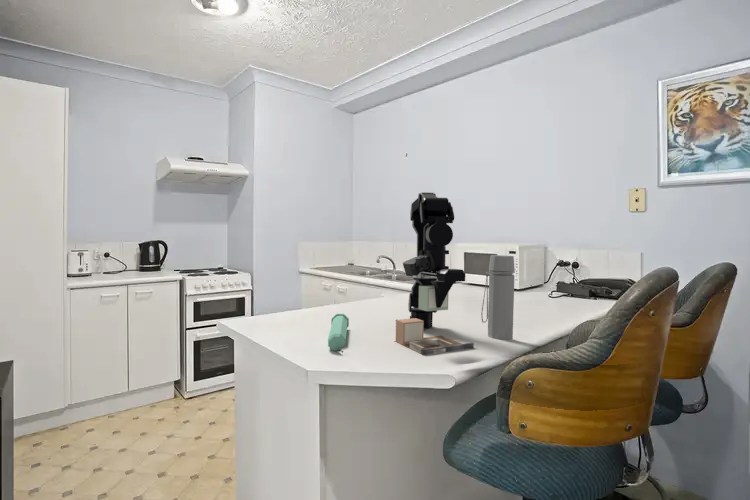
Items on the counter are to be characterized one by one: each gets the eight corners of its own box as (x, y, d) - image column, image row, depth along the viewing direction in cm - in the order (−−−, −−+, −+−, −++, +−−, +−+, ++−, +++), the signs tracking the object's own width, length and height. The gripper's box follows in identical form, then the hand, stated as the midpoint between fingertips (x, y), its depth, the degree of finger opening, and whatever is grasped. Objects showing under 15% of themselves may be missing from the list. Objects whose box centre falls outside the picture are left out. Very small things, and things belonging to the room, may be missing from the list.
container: (343, 329, 109) (345, 310, 134) (321, 338, 109) (328, 317, 134) (351, 350, 110) (352, 327, 135) (330, 358, 110) (334, 334, 135)
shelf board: (441, 339, 124) (441, 330, 124) (473, 352, 111) (474, 342, 111) (393, 345, 117) (394, 335, 117) (422, 359, 104) (423, 349, 104)
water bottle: (514, 338, 126) (516, 255, 125) (511, 345, 119) (513, 256, 118) (483, 335, 130) (485, 254, 129) (478, 341, 123) (480, 255, 122)
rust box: (395, 341, 116) (396, 319, 116) (415, 339, 119) (415, 318, 119) (403, 345, 113) (403, 322, 113) (423, 342, 116) (424, 320, 115)
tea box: (418, 308, 110) (418, 285, 110) (438, 307, 113) (439, 285, 113) (427, 311, 106) (428, 287, 106) (448, 309, 109) (448, 286, 109)
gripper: (389, 245, 113) (388, 302, 114) (429, 246, 97) (428, 314, 97) (424, 245, 119) (423, 300, 119) (467, 247, 102) (466, 311, 102)
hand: (433, 306), depth 109 cm, fingers closed on tea box, 4 cm apart
